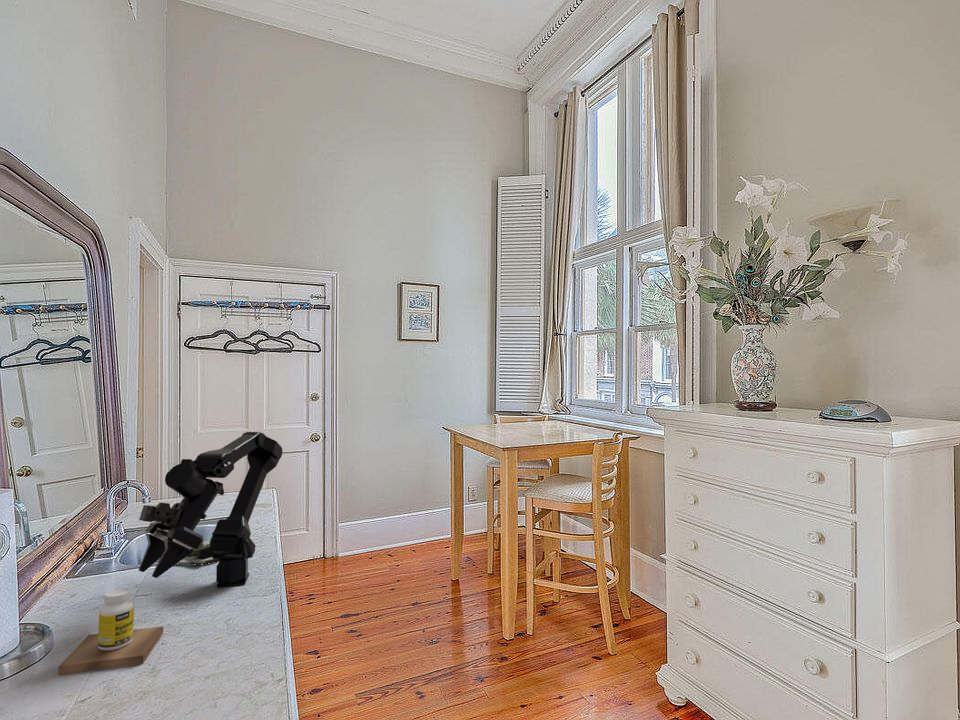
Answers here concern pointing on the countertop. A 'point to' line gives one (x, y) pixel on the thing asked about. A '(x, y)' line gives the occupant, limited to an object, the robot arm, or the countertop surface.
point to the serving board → (111, 652)
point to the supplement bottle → (116, 620)
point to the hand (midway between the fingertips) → (147, 574)
